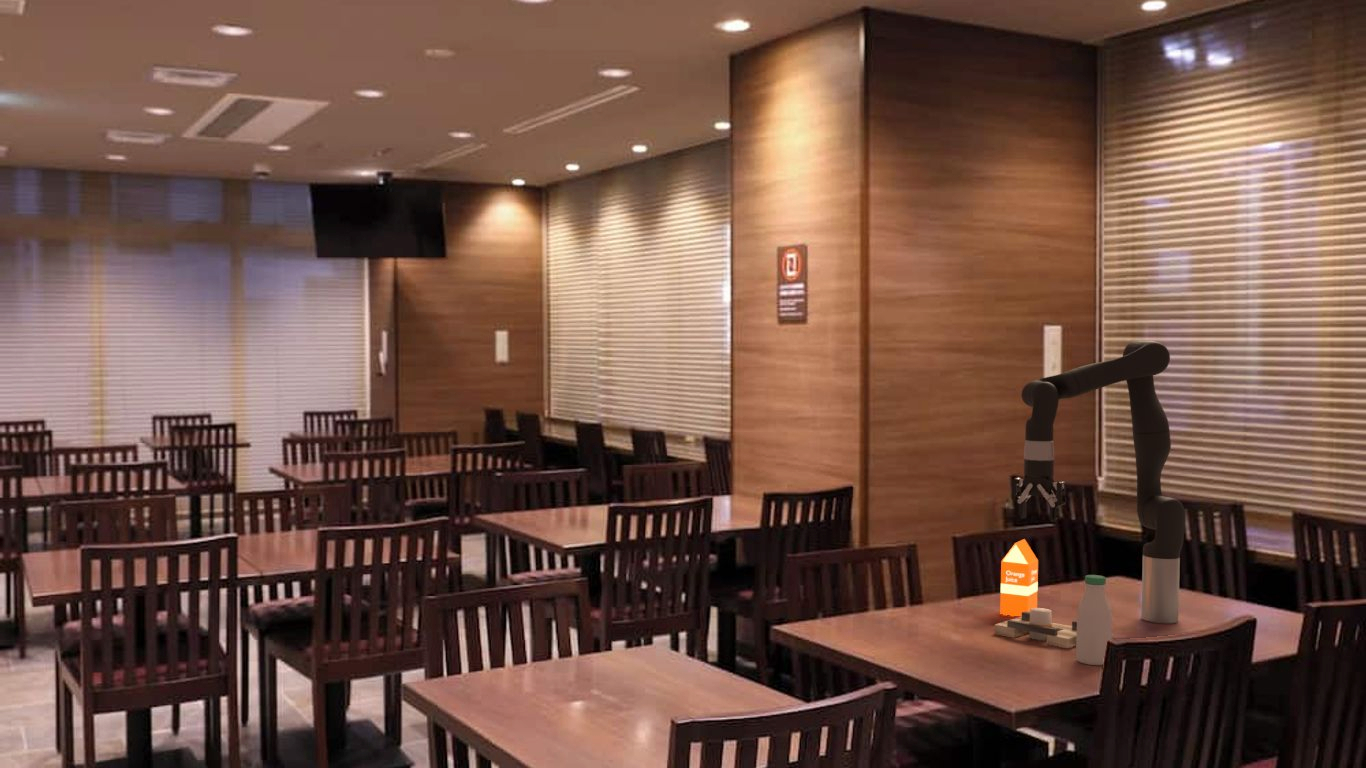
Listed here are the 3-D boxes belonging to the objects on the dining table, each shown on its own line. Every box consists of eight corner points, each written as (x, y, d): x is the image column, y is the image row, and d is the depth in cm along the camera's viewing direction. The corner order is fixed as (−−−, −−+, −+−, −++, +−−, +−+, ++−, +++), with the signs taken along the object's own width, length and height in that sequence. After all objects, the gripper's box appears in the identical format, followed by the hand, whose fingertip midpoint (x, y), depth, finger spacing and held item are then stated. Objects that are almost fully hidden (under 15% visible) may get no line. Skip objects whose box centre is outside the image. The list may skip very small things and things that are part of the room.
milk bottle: (1113, 667, 277) (1115, 580, 276) (1078, 665, 278) (1079, 578, 277) (1108, 658, 284) (1110, 574, 283) (1074, 656, 286) (1075, 572, 285)
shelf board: (1020, 625, 316) (1021, 609, 316) (1093, 639, 302) (1093, 622, 302) (994, 633, 307) (994, 616, 307) (1067, 648, 293) (1068, 630, 293)
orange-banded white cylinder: (1035, 634, 308) (1036, 606, 307) (1055, 638, 304) (1056, 610, 303) (1024, 637, 304) (1025, 610, 303) (1044, 641, 300) (1045, 613, 300)
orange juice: (1037, 612, 333) (1039, 539, 332) (1028, 618, 325) (1029, 544, 325) (1009, 608, 337) (1010, 537, 336) (999, 614, 330) (1000, 541, 329)
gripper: (1071, 458, 314) (1070, 521, 314) (1021, 454, 324) (1020, 515, 324) (1057, 460, 308) (1056, 524, 309) (1007, 456, 318) (1006, 518, 319)
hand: (1038, 519), depth 317 cm, fingers open, 8 cm apart
